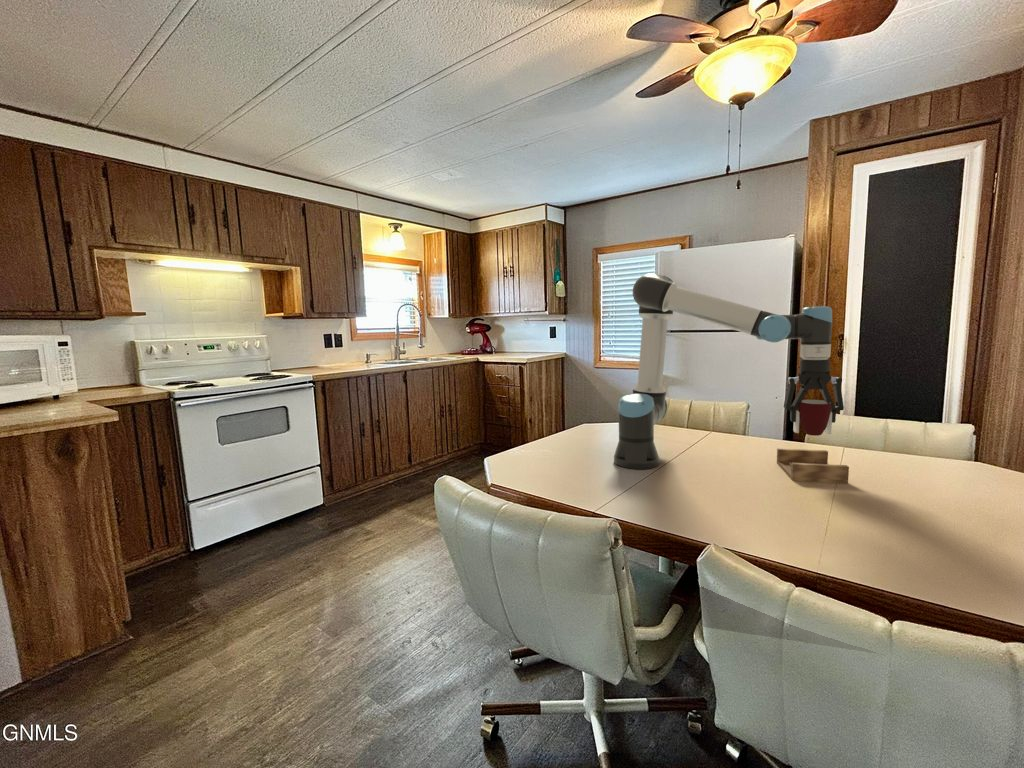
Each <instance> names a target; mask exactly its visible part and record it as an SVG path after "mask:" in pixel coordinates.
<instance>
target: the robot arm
mask: <svg viewBox="0 0 1024 768" xmlns="http://www.w3.org/2000/svg"><path fill="white" fill-rule="evenodd" d="M632 297H633V300H634V302H635V303H636V304H637V305H638V306H639V307H638V315H639V316H640V317H641V318H642V323H641V324H642V326H641V338H640V349H639V352H640V353H639V360H638V361H639V362H638V375H637V384H636V385H635V386H633V387H632V393H631V394H626V395H623V396H622V397H620V398H619V400H618V405H617V410H618V442H617V446H616V449H615V452H614V455H613V462H614V464H615V465H616V464H617V465H616V466H618V465H619V466H618V467H621V468H626V469H629V470H630V469H631V470H648V469H653V468H654V469H655V468H656V467H658V466H659V465H660V456H659V454H658V450H657V447H656V445H655V441H654V438H655V436H654V435H655V434H654V432H655V431H654V430H655V425H656V424H658V423H660V422H661V421H662V420H663V419H664V418H665V417H666V415H667V412H668V402H667V399H666V396H667V393H666V391H667V390H666V389H665V387H663V378H664V366H665V355H666V343H667V333H668V322H669V321H668V320H669V319H670V318H671V317H672V316H673V315H674V313H679V314H681V315H685V316H687V317H691V318H695V319H697V320H701V321H704V322H708V323H711V324H714V325H718V326H721V327H723V328H727V329H730V330H732V331H737V332H740V333H743V334H747V335H750V336H753V337H755V338H756V339H758V340H759V341H760V340H761V341H766V342H769V343H779V342H781V341H785V340H800V352H799V358H801V359H800V360H799V374H798V375H797V376H795V377H791V376H789V377H787V380H786V381H787V384H788V385H787V388H786V394H785V398H784V402H783V408H784V409H785V410H787V411H789V420H790V422H791V423H793V428H792V429H793V430H792V431H793V432H794V433H795V434H799V433H800V416H799V415H800V412H799V402H802V400H804V399H805V396H806V394H807V393H808V392H809V390H819V391H820V394H821V395H822V397H823V401H826V402H827V403H828V404H829V403H830V402H831V413H830V417H829V420H828V424H827V427H826V429H825V430H824V432H825V433H827V434H828V435H831V434H832V427H833V426H832V425H833V423H836V418H837V417H836V415H837V413H838V412H839V411H844V408H845V406H844V398H843V393H842V386H841V385H842V382H843V378H842V377H838V376H832V375H831V359H829V358H830V357H831V353H832V352H831V351H832V350H831V348H832V336H833V335H832V334H833V333H832V332H833V309H832V308H831V307H830V306H823V305H822V306H807V307H806V306H805V307H803V308H802V309H801V312H800V313H797V314H776V313H773V312H769V311H766V310H762V309H758V308H756V307H755V308H754V307H751V306H747V305H744V304H740V303H737V302H733V301H730V300H726V299H723V298H720V297H716V296H711V295H709V294H706V293H701V292H697V291H693V290H690V289H687V288H683V287H680V286H678V285H677V283H676V282H674V281H673V280H672V279H671V278H670V277H668V276H666V275H660V274H657V273H647V274H646V273H645V274H644V275H642V276H640V277H639V278H638V279H637V280H636V281H635V282H634V284H633V287H632ZM798 381H799V383H800V384H801V385H800V387H799V390H798V393H797V395H796V396H795V398H794V395H795V394H794V393H795V389H796V385H797V384H798ZM829 382H831V384H832V389H833V397H834V401H835V402H834V401H833V399H832V397H831V394H830V393H829V389H828V386H827V385H828V384H829ZM793 399H794V400H793Z"/></svg>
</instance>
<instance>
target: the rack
mask: <svg viewBox="0 0 1024 768" xmlns="http://www.w3.org/2000/svg"><path fill="white" fill-rule="evenodd" d="M828 456H829V451H828V450H824V449H800V448H798V449H797V448H776V464H777V465H778V467H779V468H780V469H781V470H782V471H783V472H784V473H785V474H786V475H787V477H789V479H790V480H792V482H793V481H795V482H796V481H797V482H798V481H799V482H813V483H814V482H815V483H827V484H829V483H831V484H849V474H850V473H849V472H850V466H848V465H847V464H829V462H828V461H829V457H828Z"/></svg>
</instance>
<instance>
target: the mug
mask: <svg viewBox="0 0 1024 768" xmlns="http://www.w3.org/2000/svg"><path fill="white" fill-rule="evenodd" d="M798 412H800V415H799V423H800V426H801V429H802V430H803V432H804V433H805V435H809V436H813V437H814V436H817V437H819V436H822V435H823V433H824V432H825V429H826V427H827V424H828V420H829V417H830V413H831V402H830V403H829V404H828V403H827V402H826V401H825V400H824V399H823V400H822V399H803V400H802V402H799V407H798Z"/></svg>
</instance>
